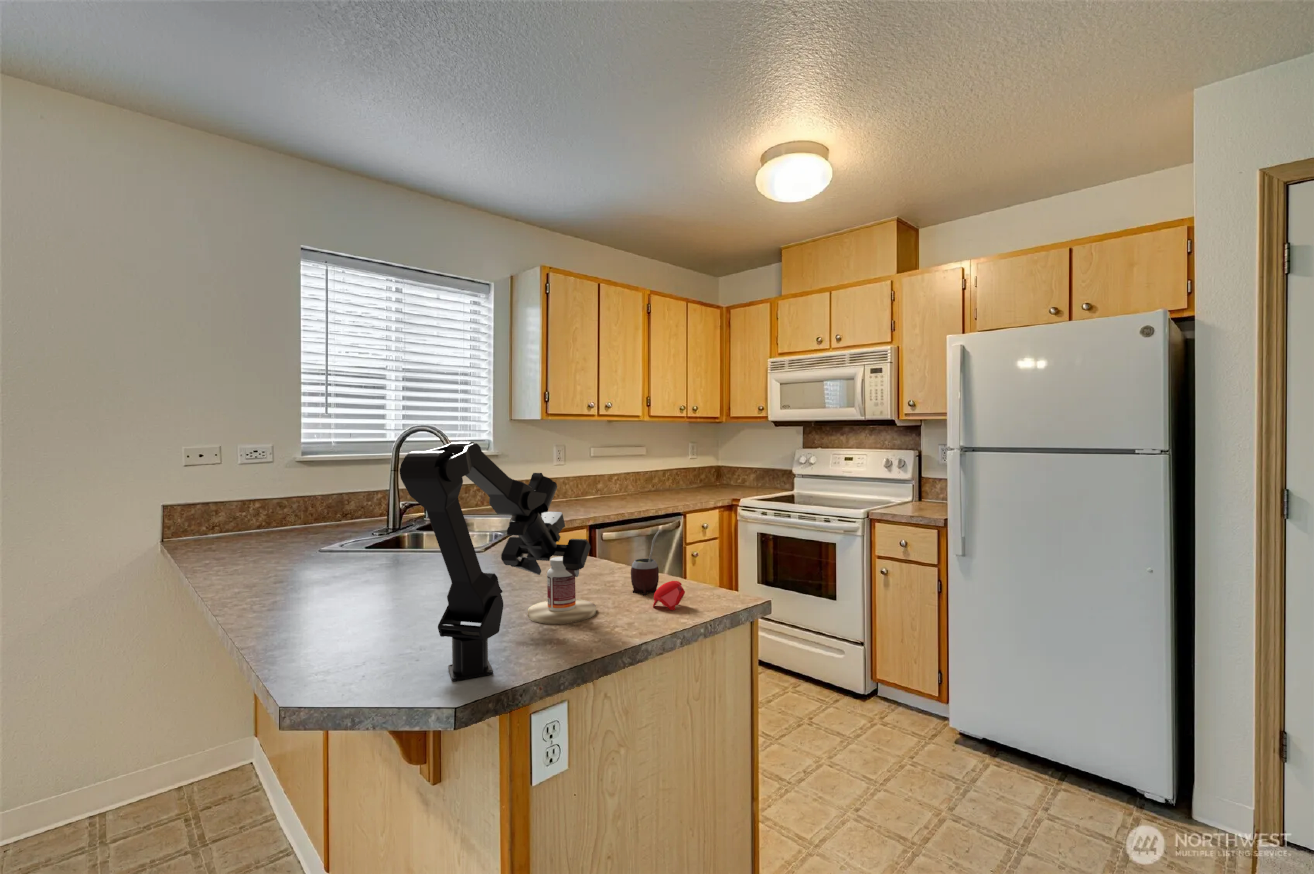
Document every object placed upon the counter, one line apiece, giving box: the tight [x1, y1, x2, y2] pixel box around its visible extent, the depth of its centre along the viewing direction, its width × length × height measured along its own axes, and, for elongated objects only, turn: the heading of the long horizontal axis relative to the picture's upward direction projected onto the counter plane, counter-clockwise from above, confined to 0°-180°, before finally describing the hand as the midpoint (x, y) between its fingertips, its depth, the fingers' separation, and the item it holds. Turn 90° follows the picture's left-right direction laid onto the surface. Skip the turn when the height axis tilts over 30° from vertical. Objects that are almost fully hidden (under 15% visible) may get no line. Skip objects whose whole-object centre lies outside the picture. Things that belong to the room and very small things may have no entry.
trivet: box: [527, 598, 597, 625], centre depth 131 cm, size 15×15×1 cm
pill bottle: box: [546, 556, 577, 611], centre depth 131 cm, size 6×6×11 cm
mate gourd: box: [630, 529, 661, 596], centre depth 149 cm, size 8×8×15 cm
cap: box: [652, 580, 686, 611], centre depth 135 cm, size 8×6×6 cm
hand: (558, 574), depth 130 cm, fingers open, 9 cm apart
